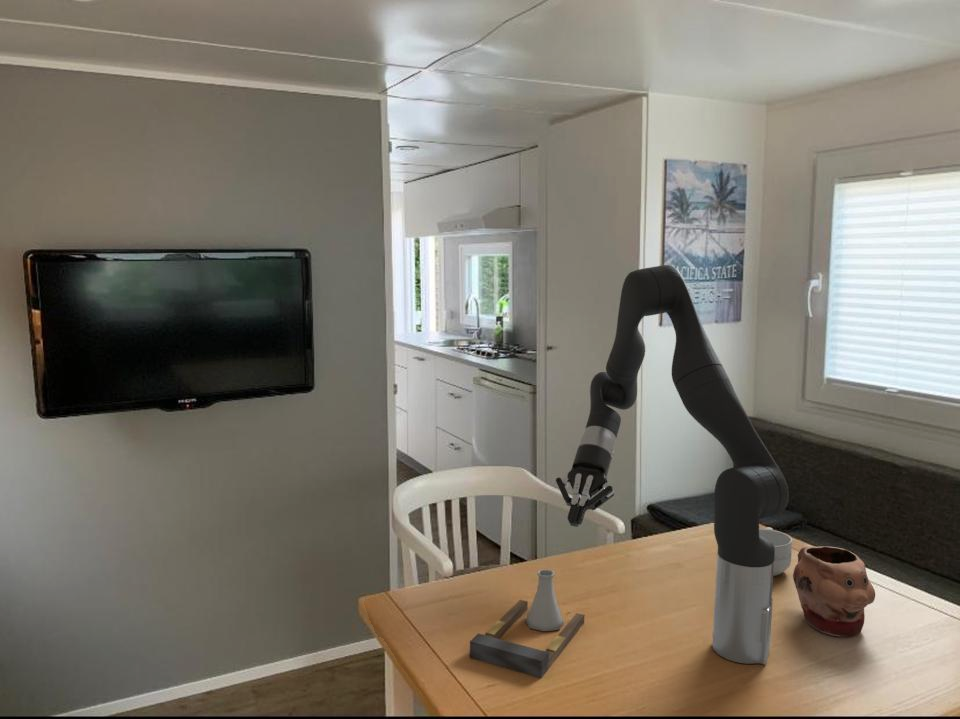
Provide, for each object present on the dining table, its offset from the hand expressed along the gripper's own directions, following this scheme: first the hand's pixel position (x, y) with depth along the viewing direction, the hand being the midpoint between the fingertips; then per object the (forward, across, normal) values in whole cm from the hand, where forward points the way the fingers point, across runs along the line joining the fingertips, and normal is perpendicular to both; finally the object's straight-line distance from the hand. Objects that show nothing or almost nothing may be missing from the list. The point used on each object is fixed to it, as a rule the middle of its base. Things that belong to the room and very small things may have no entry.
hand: (573, 524), depth 150 cm
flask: (+21, 0, 0) cm, 21 cm away
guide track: (+25, 0, -5) cm, 26 cm away
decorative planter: (+2, +47, +18) cm, 51 cm away
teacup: (-13, +34, +33) cm, 49 cm away
